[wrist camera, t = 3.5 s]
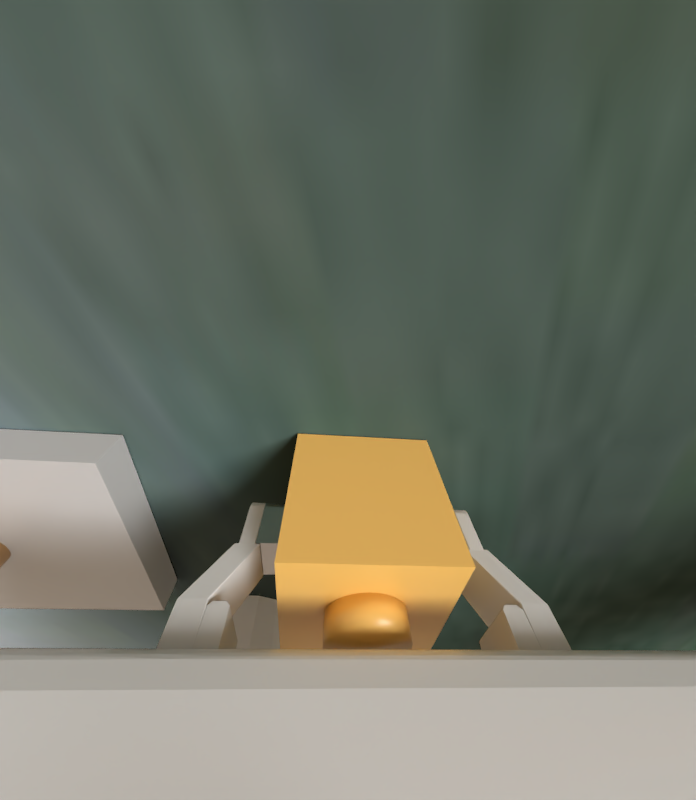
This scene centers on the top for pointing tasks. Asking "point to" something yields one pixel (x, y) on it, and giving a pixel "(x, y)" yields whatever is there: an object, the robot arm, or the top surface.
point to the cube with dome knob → (367, 546)
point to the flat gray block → (77, 526)
